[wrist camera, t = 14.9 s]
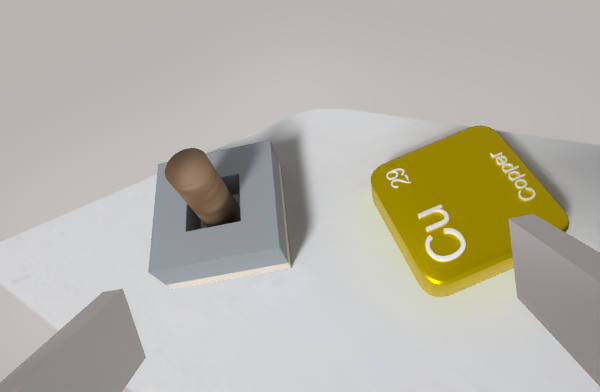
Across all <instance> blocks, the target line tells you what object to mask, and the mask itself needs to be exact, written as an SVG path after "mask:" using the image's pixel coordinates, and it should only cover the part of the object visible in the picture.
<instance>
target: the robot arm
mask: <svg viewBox="0 0 600 392" xmlns="http://www.w3.org/2000/svg"><path fill="white" fill-rule="evenodd" d="M509 228H510V237H511V246H512V254H513V263H514V272H515V281H516V289H517V297H518V299H519V300H520V301H521V302H522V303H523V304H524V305H525V306H526V307H527V308H528V309H529V310H530V311H531V313H532V314H533V315H534V316H535V317H536V318H537V319H538V320H539V321H540V322H541V323H542V324H543V326H544V327H545V328H546V329H547V330H548V331H549V332H550V333H551V334H552V335H553V336H554V337H555V338H556V340H557V341H558V342H559V343H560V344H561V345H562V346H563V347H564V348H565V349H566V350H567V351H568V352H569V354H570V355H571V356H572V357H573V358H574V359H575V360H576V361H577V362H578V363H579V364H580V365H581V367H582V368H583V369H584V370H585V371H586V372H587V373H588V374H589V375H590V376H591V377H592V378H593V379H594V381H595V382H596V383H597V384H598V385H599V386H600V253H599V252H597V251H595V250H594V249H592V248H590V247H589V246H587V245H585V244H583V243H582V242H580V241H578V240H577V239H575V238H573V237H572V236H570V235H568V234H567V233H565V232H563V231H561V230H560V229H558V228H556V227H555V226H553V225H551V224H550V223H548V222H546V221H544V220H543V219H541V218H539V217H538V216H536V215H534V214H531V215H526V216H520V217H515V218H509ZM145 358H146V357H145V354H144V351H143V348H142V345H141V342H140V339H139V336H138V333H137V330H136V327H135V324H134V321H133V318H132V315H131V312H130V309H129V306H128V303H127V300H126V297H125V294H124V291H123V289H119V290H113V291H108V292H102V293H101V294H100V295H99V296H98V297H97V298H96V299H95V300H93V301H92V302H91V303H90V304H89V305H88V306H87V307H85V308H84V309H83V310H82V311H81V312H80V313H79V314H78V315H76V316H75V317H74V318H73V319H72V320H71V321H70V322H68V323H67V324H66V325H65V326H64V327H63V328H62V329H61V330H59V331H58V332H57V333H56V334H55V335H54V336H53V337H51V338H50V339H49V340H48V341H47V342H46V343H45V344H43V345H42V347H40V348H39V349H38V350H37V351H36V352H35V353H33V354H32V355H31V356H30V357H29V358H28V359H27V360H25V361H24V362H23V363H22V364H21V365H20V366H19V367H17V368H16V369H15V370H14V371H13V372H12V373H11V374H9V375H8V376H7V377H6V378H5V379H4V380H3V381H2V382H0V392H122V391H123V389H124V388H125V386H126V385H127V384H128V382H129V381H130V379H131V378H132V376H133V375H134V373H135V372H136V371H137V369H138V368H139V366H140V365H141V363H142V362H143V360H144V359H145Z"/></svg>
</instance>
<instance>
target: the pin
mask: <svg viewBox="0 0 600 392" xmlns="http://www.w3.org/2000/svg"><path fill="white" fill-rule="evenodd" d="M165 177H166V179H167V180H168V182H169V183H170V184H171V185H172V186H173V188H174V189H175V190H176V191H177V192H178V193H179V195H180V196H181V197H182V198H183V199H184V200H185V202H186V203H187V204H188V205H189V206H190V207H191V209H192V210H193V211H194V212H195V213H196V214H197V216H198V217H199V218H200V219H201V220H202V221H203V223H204V224H205V225H206V226H207V227H213V226H218V225H223V224H228V223H234V222H239V221H241V213H240V206H239V205H238V203H237V202H236V200H235V199H234V197H233V196H232V194H231V193H230V191H229V190H228V188H227V186H226V185H225V183H224V182H223V180H222V179H221V177H220V176H219V174H218V173H217V171H216V170H215V168H214V166H213V165H212V163H211V162H210V160H209V159H208V157H207V156H206V154H205V153H204V152H203V151H201V150H199V149H195V148H190V149H185V150H182V151H180V152H178V153H177V154H175V155H174V156H173V157H172V158H171V159H170V160H169V161H168V163H167V165H166V168H165Z"/></svg>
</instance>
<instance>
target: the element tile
mask: <svg viewBox="0 0 600 392" xmlns="http://www.w3.org/2000/svg"><path fill="white" fill-rule="evenodd" d="M371 187H372V196H373V201H374V204H375V206H376V207H377V209H378V211H379V213H380V215H381V216H382V218H383V220H384V222H385V224H386V225H387V227H388V229H389V231H390V233H391V235H392V236H393V238H394V240H395V242H396V244H397V245H398V247H399V249H400V251H401V253H402V254H403V256H404V258H405V260H406V262H407V263H408V265H409V267H410V269H411V271H412V273H413V274H414V276H415V278H416V280H417V282H418V283H419V285H420V286H421V288H422V289H423V290H424V291H426V292H427V293H428V294H430V295H432V296H435V297H445V296H449V295H451V294H454V293H456V292H458V291H461V290H463V289H465V288H468V287H470V286H472V285H475V284H477V283H479V282H482V281H484V280H486V279H489V278H491V277H493V276H496V275H498V274H500V273H503V272H505V271H507V270H510V269H512V268H514V263H513V254H512V246H511V237H510V228H509V218H515V217H520V216H526V215H531V214H534V215H536V216H538V217H539V218H541V219H543V220H544V221H546V222H548V223H550V224H551V225H553V226H555V227H556V228H558V229H560V230H561V231H563V232H565V233H566V232H567V230H568V227H569V220H568V216H567V214H566V213H565V211H564V210H563V208H562V207H561V206H560V205H559V204H558V203H557V201H556V200H555V199H554V198H553V197H552V196H551V194H550V193H549V192H548V191H547V190H546V189H545V187H544V186H543V185H542V184H541V183H540V182H539V180H538V179H537V178H536V177H535V176H534V175H533V173H532V172H531V171H530V170H529V169H528V168H527V166H526V165H525V164H524V163H523V162H522V161H521V159H520V158H519V157H518V156H517V155H516V154H515V152H514V151H513V150H512V149H511V148H510V147H509V145H508V144H507V143H506V142H505V141H504V140H503V138H502V137H501V136H500V135H499V134H498V133H497V132H496V131H495V130H493V129H491V128H489V127H486V126H474V127H471V128H468V129H466V130H463V131H461V132H458V133H456V134H454V135H451V136H449V137H447V138H444V139H442V140H439V141H437V142H435V143H432V144H430V145H428V146H425V147H423V148H421V149H418V150H416V151H413V152H411V153H409V154H406V155H404V156H402V157H399V158H397V159H394V160H392V161H390V162H387V163H385V164H383V165H380V166H379V167H378V168H377V169H376V170H374V171H373V173H372V176H371Z"/></svg>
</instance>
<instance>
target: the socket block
mask: <svg viewBox="0 0 600 392" xmlns="http://www.w3.org/2000/svg"><path fill="white" fill-rule="evenodd" d="M206 156H207V157H208V159H209V160H210V162H211V163H212V165H213V166H214V168H215V170H216V171H217V173H218V174H219V176H220V177H221V179H222V180H223V182H224V183H225V185H226V186H227V188H228V190H229V191H230V193H231V194H232V196H233V197H234V199H235V200H236V202H237V203H238V205H239V206H240V213H241V221H239V222H234V223H228V224H223V225H218V226H213V227H207V226H206V225H205V224H204V223H203V221H202V220H201V219H200V218H199V217H198V216H197V214H196V213H195V212H194V211H193V210H192V209H191V207H190V206H189V205H188V204H187V203H186V202H185V200H184V199H183V198H182V197H181V196H180V195H179V193H178V192H177V191H176V190H175V189H174V188H173V186H172V185H171V184H170V183H169V182H168V180H167V179H166V177H165V168H166V165H167V163H168V162H166V163H161V164H158V173H157V184H156V195H155V206H154V217H153V228H152V239H151V250H150V261H149V273H150V274H152V275H153V276H155V277H156V278H157V279H159V280H160V281H162V282H163V283H164V284H166V285H167V286H169V287H170V288H171V289H176V288H182V287H188V286H193V285H199V284H204V283H210V282H216V281H221V280H227V279H232V278H238V277H243V276H249V275H255V274H260V273H266V272H271V271H277V270H282V269H288V268H291V261H290V251H289V241H288V231H287V221H286V211H285V201H284V192H283V182H282V172H281V165H280V163H279V161H278V158H277V156H276V153H275V151H274V149H273V146H272V144H271V141H270V140H268V141H263V142H259V143H254V144H249V145H245V146H240V147H235V148H231V149H226V150H221V151H217V152H212V153H207V154H206Z"/></svg>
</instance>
